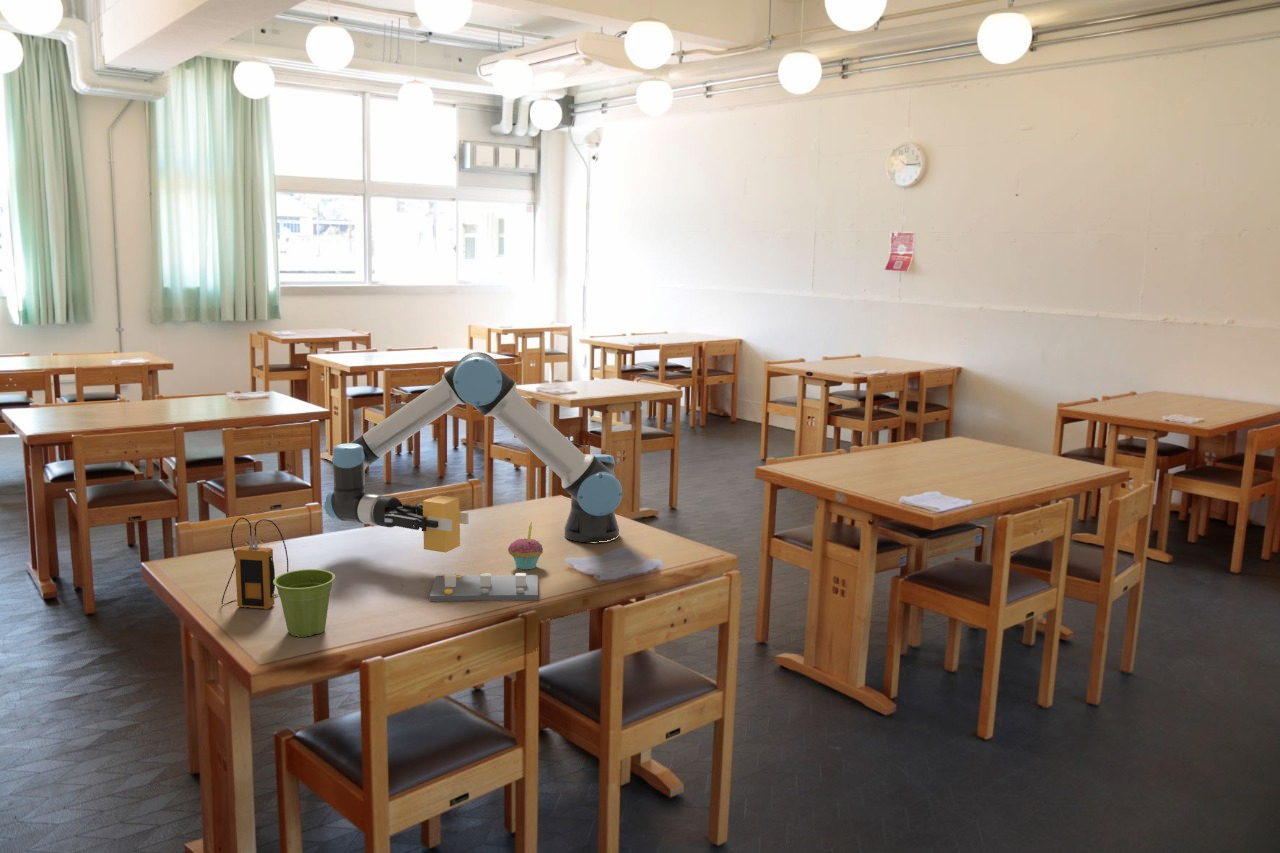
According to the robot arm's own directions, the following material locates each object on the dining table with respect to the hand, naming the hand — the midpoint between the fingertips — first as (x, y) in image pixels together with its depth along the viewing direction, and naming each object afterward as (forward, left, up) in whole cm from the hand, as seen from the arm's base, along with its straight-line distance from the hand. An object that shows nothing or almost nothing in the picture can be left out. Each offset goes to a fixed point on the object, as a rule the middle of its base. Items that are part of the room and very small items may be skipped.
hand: (459, 522), depth 237 cm
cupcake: (-16, -6, -13) cm, 21 cm away
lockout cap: (+4, -3, -7) cm, 9 cm away
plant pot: (+28, +35, -13) cm, 47 cm away
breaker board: (-7, +11, -13) cm, 19 cm away
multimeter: (+41, +17, -13) cm, 47 cm away
